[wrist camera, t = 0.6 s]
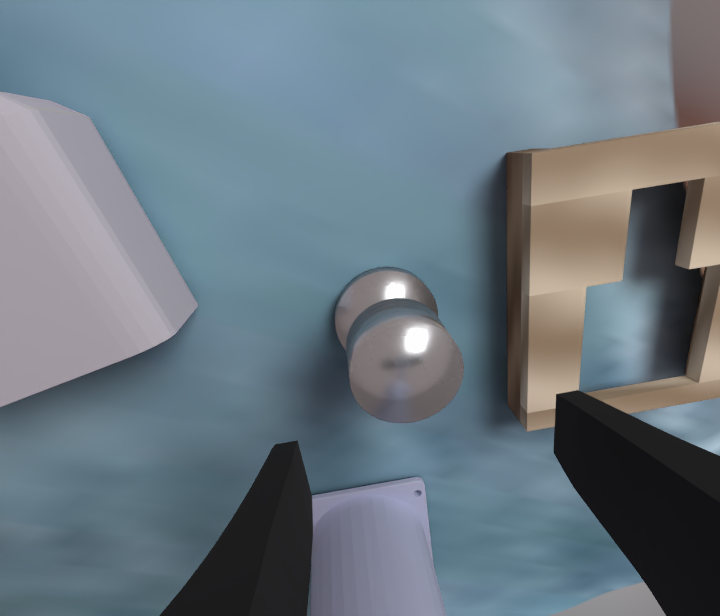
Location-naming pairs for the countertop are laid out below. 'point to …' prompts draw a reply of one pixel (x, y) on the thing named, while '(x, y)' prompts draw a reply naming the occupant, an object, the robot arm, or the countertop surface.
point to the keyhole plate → (602, 261)
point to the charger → (74, 254)
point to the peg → (396, 346)
